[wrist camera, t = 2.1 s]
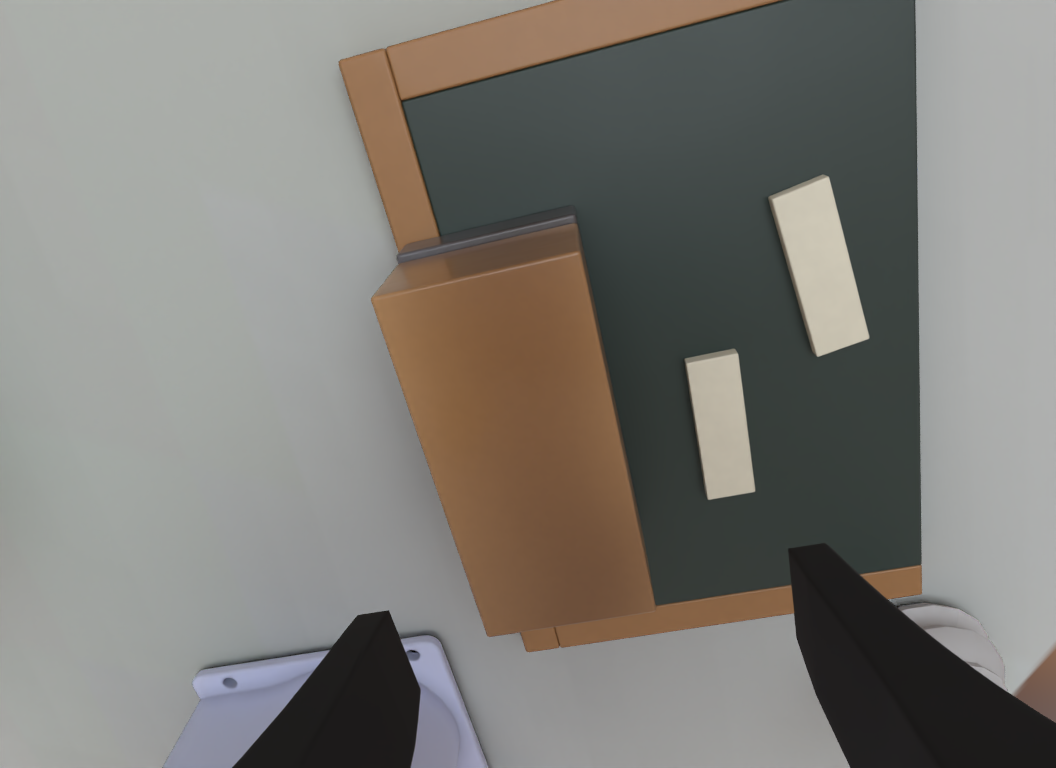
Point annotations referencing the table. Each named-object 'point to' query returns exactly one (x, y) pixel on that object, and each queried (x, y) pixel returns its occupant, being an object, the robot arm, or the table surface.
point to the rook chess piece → (960, 637)
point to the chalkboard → (696, 255)
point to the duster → (519, 420)
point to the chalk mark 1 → (720, 423)
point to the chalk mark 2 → (819, 265)
